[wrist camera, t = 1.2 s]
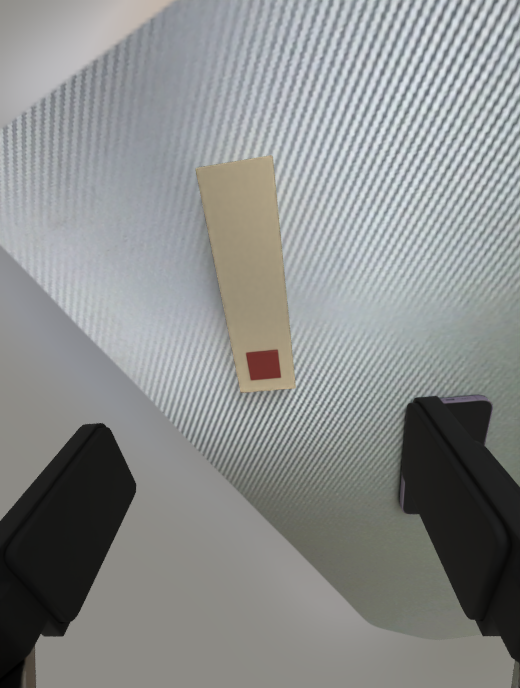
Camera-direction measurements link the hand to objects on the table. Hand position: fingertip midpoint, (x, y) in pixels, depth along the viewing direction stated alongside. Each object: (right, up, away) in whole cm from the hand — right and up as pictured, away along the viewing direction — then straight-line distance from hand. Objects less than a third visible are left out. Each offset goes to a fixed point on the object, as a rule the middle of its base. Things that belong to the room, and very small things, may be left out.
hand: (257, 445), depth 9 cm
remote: (0, +8, +14) cm, 16 cm away
